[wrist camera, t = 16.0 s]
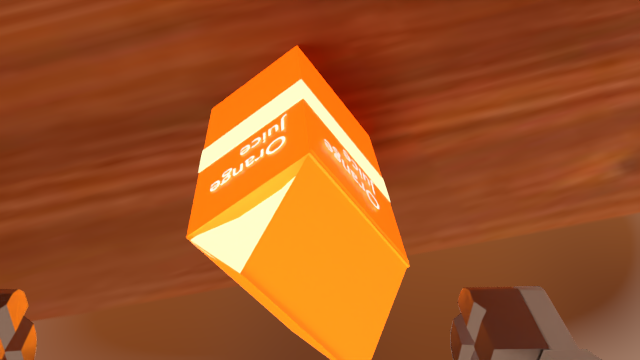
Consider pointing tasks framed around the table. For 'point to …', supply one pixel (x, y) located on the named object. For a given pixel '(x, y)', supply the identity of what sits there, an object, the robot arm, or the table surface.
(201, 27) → the table surface
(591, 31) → the table surface
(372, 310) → the orange juice
